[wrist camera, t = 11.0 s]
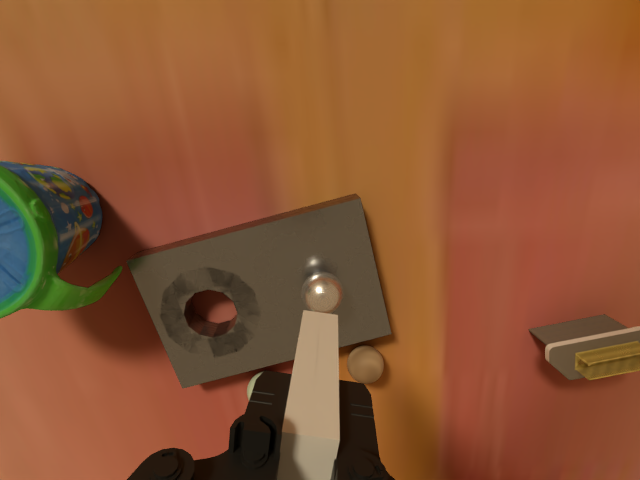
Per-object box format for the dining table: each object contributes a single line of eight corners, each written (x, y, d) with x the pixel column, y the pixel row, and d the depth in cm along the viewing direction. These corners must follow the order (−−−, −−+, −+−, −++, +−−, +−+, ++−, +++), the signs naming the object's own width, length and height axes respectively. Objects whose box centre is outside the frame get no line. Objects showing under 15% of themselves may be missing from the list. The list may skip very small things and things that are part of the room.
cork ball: (375, 334, 36) (383, 355, 32) (382, 363, 37) (391, 386, 33) (341, 343, 36) (345, 364, 33) (349, 372, 37) (354, 395, 33)
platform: (644, 360, 39) (711, 402, 33) (482, 391, 39) (517, 440, 33) (653, 257, 36) (728, 283, 29) (475, 292, 36) (512, 325, 29)
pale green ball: (278, 359, 36) (276, 382, 33) (288, 388, 37) (287, 413, 34) (245, 368, 36) (239, 392, 33) (255, 396, 37) (251, 422, 34)
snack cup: (-61, 186, 30) (-236, 211, 20) (16, 93, 28) (-134, 70, 18) (97, 308, 33) (13, 379, 24) (172, 231, 32) (116, 273, 22)
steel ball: (335, 261, 31) (340, 276, 27) (345, 297, 32) (350, 316, 28) (296, 271, 31) (296, 288, 27) (307, 307, 32) (307, 327, 28)
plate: (355, 193, 32) (360, 198, 29) (385, 320, 35) (391, 333, 33) (138, 251, 32) (126, 260, 30) (190, 371, 36) (182, 388, 33)
